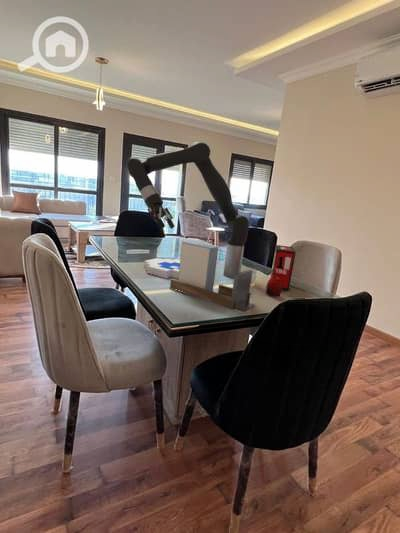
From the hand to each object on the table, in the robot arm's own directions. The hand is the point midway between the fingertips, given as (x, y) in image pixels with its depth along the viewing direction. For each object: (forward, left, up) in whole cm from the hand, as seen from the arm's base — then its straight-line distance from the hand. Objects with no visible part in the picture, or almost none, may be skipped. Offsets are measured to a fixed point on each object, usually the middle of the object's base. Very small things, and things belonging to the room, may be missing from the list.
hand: (168, 227), depth 144 cm
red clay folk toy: (-26, +44, -26) cm, 58 cm away
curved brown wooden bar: (-1, +24, -26) cm, 35 cm away
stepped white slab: (-19, -11, -26) cm, 34 cm away
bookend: (0, +42, -26) cm, 49 cm away
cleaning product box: (-45, +40, -26) cm, 66 cm away
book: (-1, +17, -26) cm, 31 cm away
